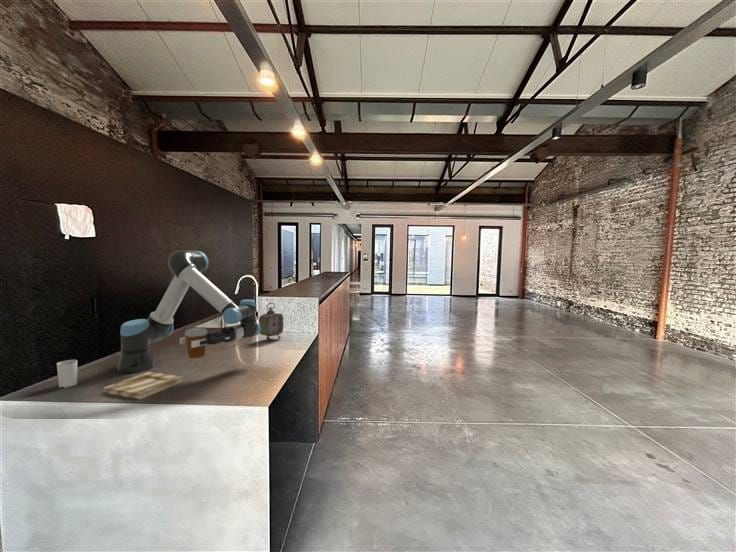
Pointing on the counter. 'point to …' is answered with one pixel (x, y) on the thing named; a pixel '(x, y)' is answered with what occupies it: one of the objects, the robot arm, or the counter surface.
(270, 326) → the tabletop clock
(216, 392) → the counter surface
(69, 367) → the drinking glass
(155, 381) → the birch board
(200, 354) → the disposable coffee cup
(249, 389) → the counter surface
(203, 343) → the robot arm
